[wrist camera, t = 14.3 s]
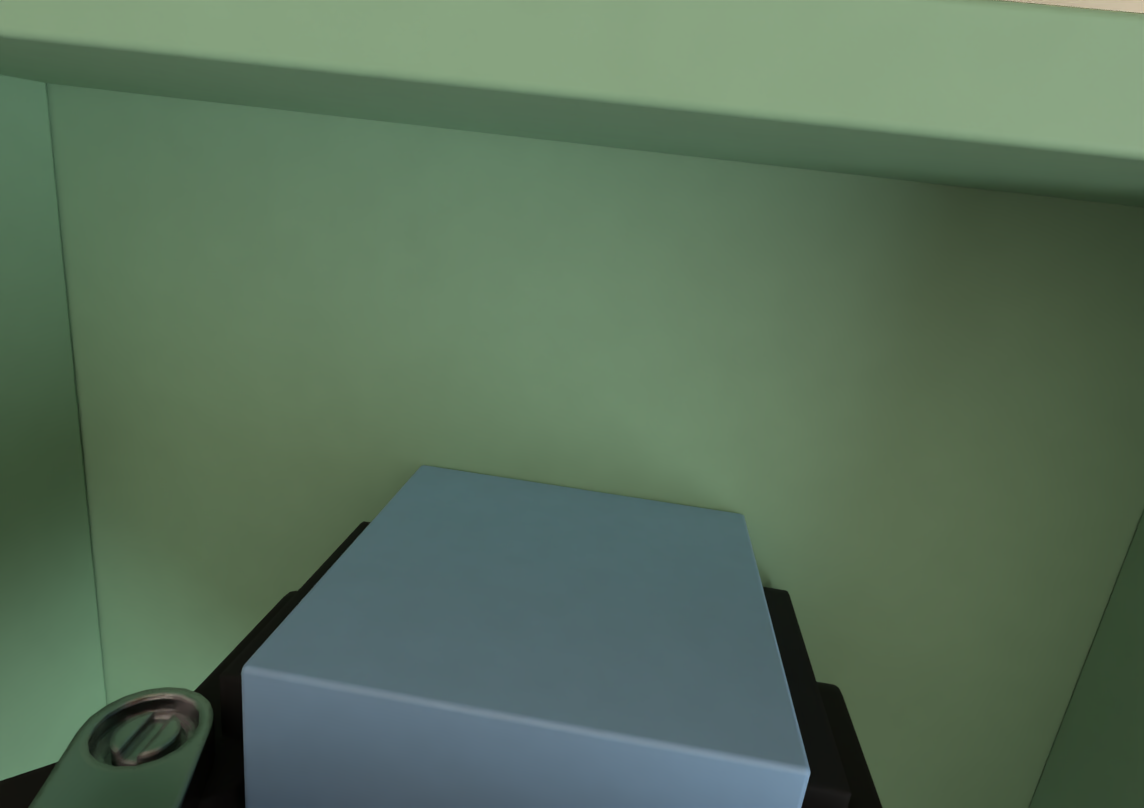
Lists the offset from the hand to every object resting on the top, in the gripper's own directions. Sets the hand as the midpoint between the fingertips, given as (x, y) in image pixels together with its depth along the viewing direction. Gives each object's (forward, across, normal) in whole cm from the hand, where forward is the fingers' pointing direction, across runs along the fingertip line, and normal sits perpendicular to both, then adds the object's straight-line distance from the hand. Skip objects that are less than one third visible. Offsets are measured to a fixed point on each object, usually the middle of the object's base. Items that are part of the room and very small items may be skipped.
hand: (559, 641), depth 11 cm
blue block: (0, 0, 0) cm, 0 cm away
